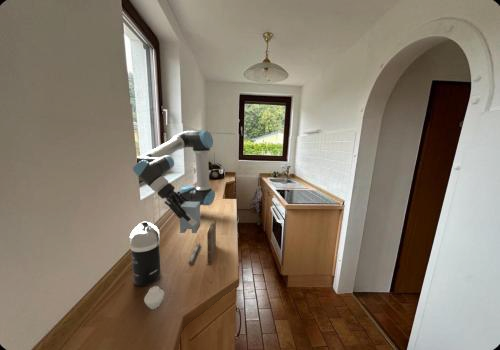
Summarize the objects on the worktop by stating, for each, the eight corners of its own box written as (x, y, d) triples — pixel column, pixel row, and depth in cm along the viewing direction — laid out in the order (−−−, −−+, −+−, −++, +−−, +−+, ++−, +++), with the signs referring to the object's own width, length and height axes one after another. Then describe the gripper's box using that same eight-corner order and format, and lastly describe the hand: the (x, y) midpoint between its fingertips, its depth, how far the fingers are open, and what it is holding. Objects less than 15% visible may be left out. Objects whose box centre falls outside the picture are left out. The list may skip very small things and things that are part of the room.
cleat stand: (197, 245, 101) (196, 218, 99) (215, 245, 102) (215, 218, 99) (188, 264, 86) (187, 232, 83) (210, 264, 86) (210, 232, 83)
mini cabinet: (185, 225, 95) (185, 201, 92) (200, 225, 95) (199, 201, 93) (180, 232, 87) (179, 206, 85) (196, 233, 87) (195, 207, 85)
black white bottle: (141, 291, 69) (137, 230, 65) (128, 280, 74) (123, 222, 70) (166, 275, 78) (163, 220, 74) (152, 266, 83) (149, 214, 79)
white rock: (143, 303, 64) (141, 286, 63) (162, 295, 68) (161, 278, 67) (146, 316, 59) (145, 298, 58) (166, 306, 63) (165, 288, 62)
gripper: (167, 187, 98) (197, 217, 101) (145, 199, 77) (185, 235, 80) (176, 178, 97) (207, 208, 100) (158, 187, 76) (197, 224, 79)
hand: (197, 220), depth 90 cm, fingers closed on mini cabinet, 8 cm apart
